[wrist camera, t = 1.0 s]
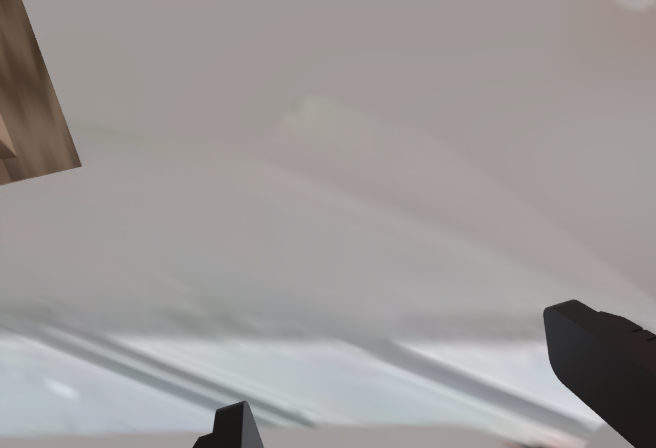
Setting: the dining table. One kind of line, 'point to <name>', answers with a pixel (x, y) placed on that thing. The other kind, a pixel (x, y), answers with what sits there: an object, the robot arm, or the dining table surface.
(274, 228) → the dining table surface
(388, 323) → the dining table surface
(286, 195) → the dining table surface
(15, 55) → the brown open channel
